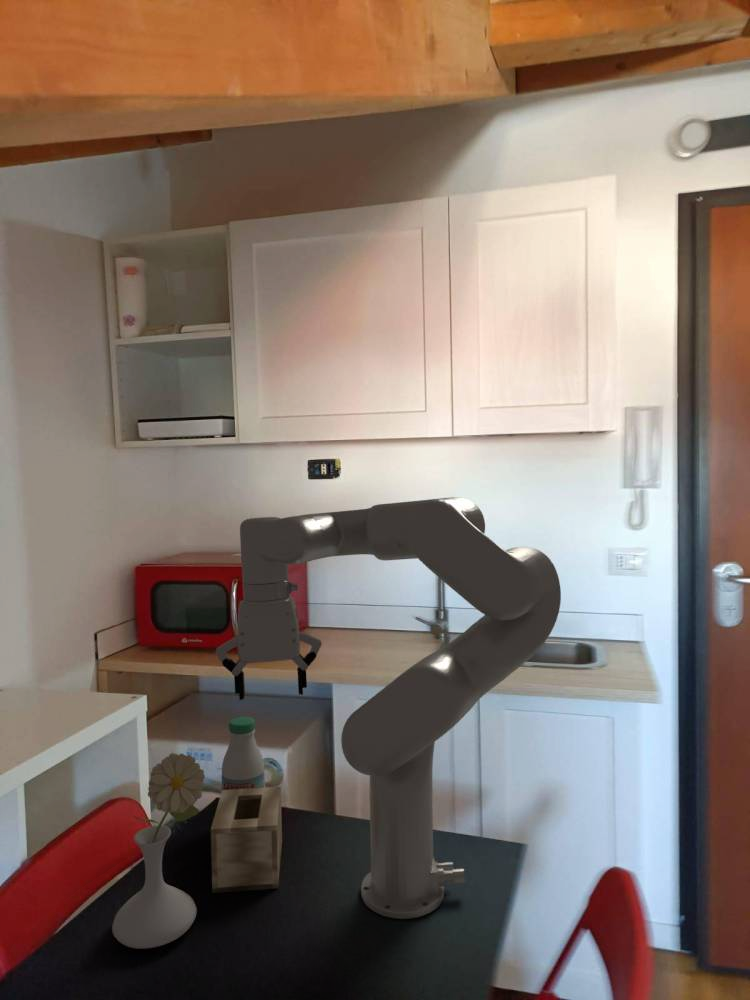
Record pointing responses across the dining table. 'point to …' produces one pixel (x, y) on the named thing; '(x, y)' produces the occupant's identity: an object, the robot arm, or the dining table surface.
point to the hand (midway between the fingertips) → (271, 694)
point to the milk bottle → (242, 757)
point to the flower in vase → (158, 905)
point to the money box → (247, 840)
